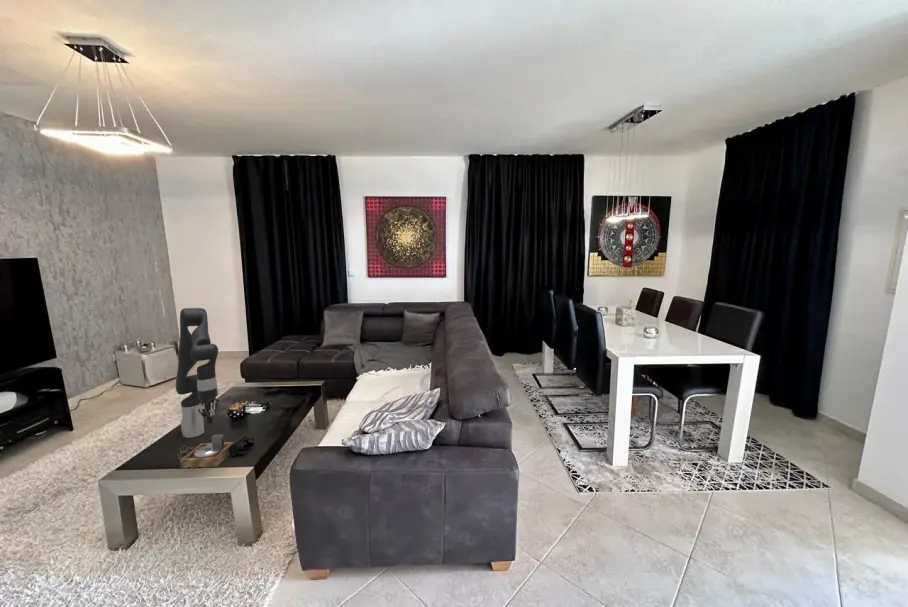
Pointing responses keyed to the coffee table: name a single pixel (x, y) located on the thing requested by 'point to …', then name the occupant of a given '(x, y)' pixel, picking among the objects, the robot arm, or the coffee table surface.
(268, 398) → the coffee table surface
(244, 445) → the end cap
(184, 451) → the eiffel tower figurine
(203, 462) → the wooden square tray
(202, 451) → the dial
